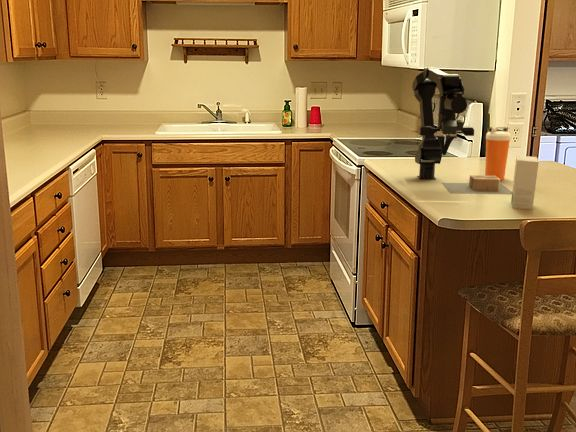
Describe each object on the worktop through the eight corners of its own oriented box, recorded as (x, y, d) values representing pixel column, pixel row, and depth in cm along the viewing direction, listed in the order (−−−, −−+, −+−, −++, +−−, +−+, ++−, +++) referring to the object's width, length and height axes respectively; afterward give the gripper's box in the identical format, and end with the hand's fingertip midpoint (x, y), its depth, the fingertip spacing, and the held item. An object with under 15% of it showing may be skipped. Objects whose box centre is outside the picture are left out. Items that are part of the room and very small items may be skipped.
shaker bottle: (510, 181, 244) (515, 128, 239) (488, 182, 243) (493, 129, 238) (499, 177, 253) (504, 125, 248) (478, 177, 251) (482, 126, 246)
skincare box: (510, 202, 211) (515, 155, 207) (532, 204, 209) (537, 156, 205) (511, 208, 203) (516, 159, 199) (534, 210, 201) (539, 160, 197)
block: (469, 175, 232) (495, 175, 232) (469, 186, 233) (494, 186, 233) (474, 179, 225) (500, 179, 225) (473, 190, 226) (499, 190, 226)
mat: (441, 183, 239) (441, 182, 239) (501, 184, 238) (501, 183, 238) (450, 194, 222) (450, 193, 222) (515, 195, 221) (515, 194, 220)
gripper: (423, 112, 218) (421, 158, 222) (479, 113, 217) (475, 159, 221) (419, 109, 229) (416, 153, 233) (472, 110, 228) (468, 153, 232)
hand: (444, 155), depth 229 cm, fingers closed
